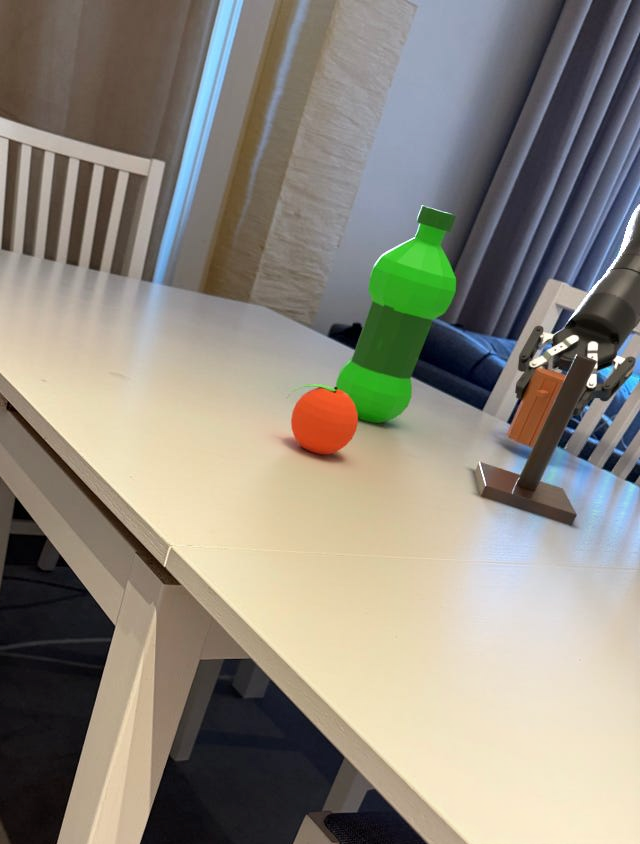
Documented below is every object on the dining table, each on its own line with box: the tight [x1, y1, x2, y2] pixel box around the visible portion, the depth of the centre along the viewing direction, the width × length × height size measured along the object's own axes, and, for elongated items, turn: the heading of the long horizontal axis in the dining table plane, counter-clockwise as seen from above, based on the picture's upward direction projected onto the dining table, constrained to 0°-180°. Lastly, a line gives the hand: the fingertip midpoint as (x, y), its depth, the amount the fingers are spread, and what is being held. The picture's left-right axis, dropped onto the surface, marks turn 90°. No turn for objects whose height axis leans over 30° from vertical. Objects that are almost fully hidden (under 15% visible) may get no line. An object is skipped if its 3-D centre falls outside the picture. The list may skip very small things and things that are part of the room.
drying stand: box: [474, 355, 597, 526], centre depth 100 cm, size 10×10×16 cm
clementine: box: [286, 383, 359, 455], centre depth 97 cm, size 8×7×7 cm
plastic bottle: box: [335, 205, 457, 424], centre depth 113 cm, size 10×10×25 cm
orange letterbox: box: [506, 368, 567, 449], centre depth 120 cm, size 9×6×9 cm
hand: (543, 404), depth 120 cm, fingers closed on orange letterbox, 6 cm apart
